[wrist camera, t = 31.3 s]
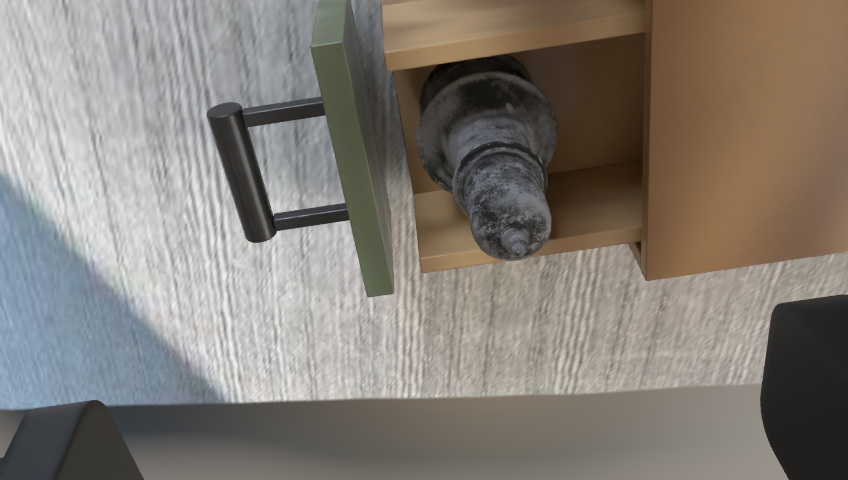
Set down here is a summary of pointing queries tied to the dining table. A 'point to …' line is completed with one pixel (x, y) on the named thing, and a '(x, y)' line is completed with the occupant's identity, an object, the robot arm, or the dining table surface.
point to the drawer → (411, 65)
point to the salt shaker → (491, 150)
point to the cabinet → (743, 134)
